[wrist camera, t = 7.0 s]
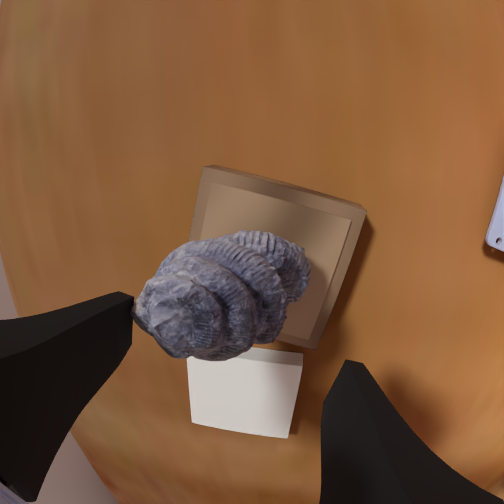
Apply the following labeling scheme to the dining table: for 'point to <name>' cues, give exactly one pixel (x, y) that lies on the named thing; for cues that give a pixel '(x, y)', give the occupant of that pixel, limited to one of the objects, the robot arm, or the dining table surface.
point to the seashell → (222, 294)
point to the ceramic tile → (246, 391)
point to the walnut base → (285, 235)
